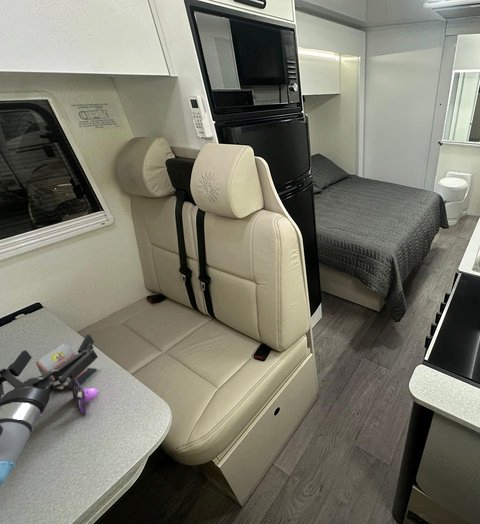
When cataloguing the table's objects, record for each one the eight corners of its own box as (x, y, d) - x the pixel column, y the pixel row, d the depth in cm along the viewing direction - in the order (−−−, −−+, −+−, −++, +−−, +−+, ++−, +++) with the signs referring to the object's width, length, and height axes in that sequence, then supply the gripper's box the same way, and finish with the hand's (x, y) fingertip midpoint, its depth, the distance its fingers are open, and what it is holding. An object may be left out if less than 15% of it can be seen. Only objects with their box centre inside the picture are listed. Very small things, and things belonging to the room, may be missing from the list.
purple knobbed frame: (67, 376, 71) (78, 394, 67) (94, 368, 76) (106, 384, 71) (68, 398, 73) (79, 418, 68) (95, 389, 77) (106, 407, 73)
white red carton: (52, 386, 76) (30, 360, 71) (78, 367, 82) (60, 341, 77) (61, 389, 75) (40, 363, 70) (88, 369, 81) (70, 344, 76)
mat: (46, 386, 77) (45, 385, 77) (69, 367, 82) (68, 366, 82) (75, 389, 76) (74, 387, 76) (96, 369, 81) (96, 368, 81)
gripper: (-52, 448, 58) (7, 371, 75) (97, 401, 66) (119, 341, 83) (-80, 427, 54) (-11, 351, 71) (81, 380, 63) (108, 322, 80)
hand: (59, 346), depth 77 cm, fingers open, 13 cm apart
